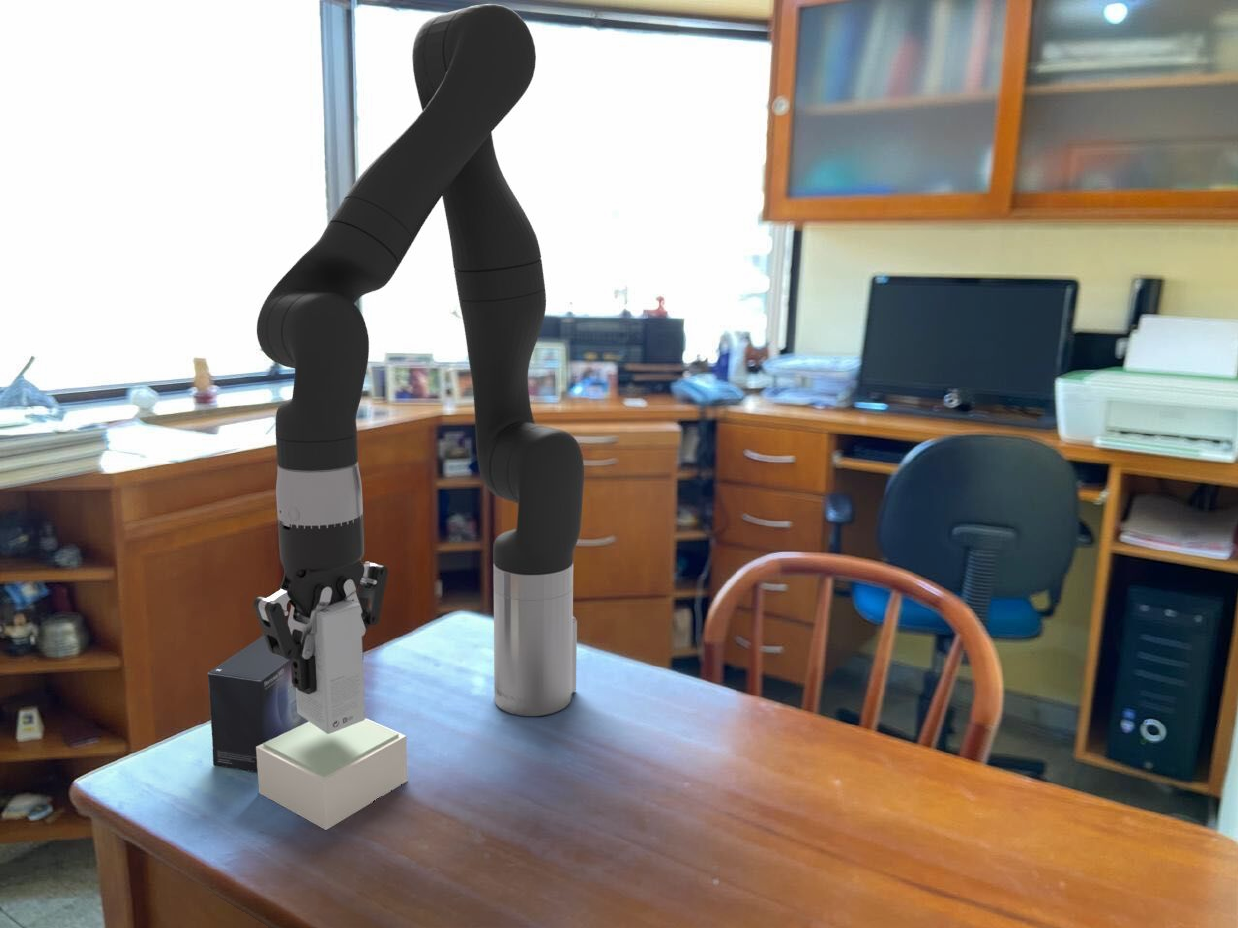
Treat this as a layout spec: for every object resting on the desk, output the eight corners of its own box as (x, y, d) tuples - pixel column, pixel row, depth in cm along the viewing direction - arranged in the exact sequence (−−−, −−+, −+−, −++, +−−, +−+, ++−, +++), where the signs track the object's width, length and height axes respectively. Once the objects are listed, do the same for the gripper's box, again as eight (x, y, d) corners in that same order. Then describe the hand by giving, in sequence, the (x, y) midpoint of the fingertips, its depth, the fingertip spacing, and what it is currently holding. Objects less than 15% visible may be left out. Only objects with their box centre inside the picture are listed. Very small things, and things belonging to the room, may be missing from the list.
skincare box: (367, 720, 89) (362, 604, 86) (327, 736, 86) (321, 616, 83) (334, 698, 93) (329, 587, 90) (295, 713, 90) (288, 598, 87)
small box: (268, 776, 93) (261, 680, 90) (210, 767, 94) (202, 673, 92) (321, 725, 103) (316, 637, 100) (269, 718, 104) (263, 631, 102)
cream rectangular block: (341, 749, 98) (339, 704, 97) (407, 780, 92) (406, 732, 91) (259, 792, 90) (255, 743, 89) (325, 829, 84) (323, 778, 83)
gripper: (355, 489, 93) (361, 646, 96) (226, 520, 81) (238, 698, 85) (407, 501, 88) (411, 665, 92) (279, 536, 77) (290, 722, 81)
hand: (328, 680), depth 88 cm, fingers closed on skincare box, 4 cm apart
